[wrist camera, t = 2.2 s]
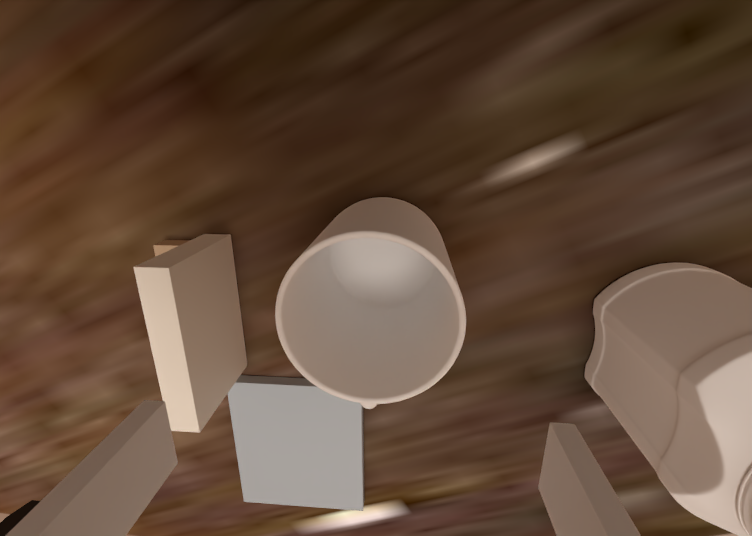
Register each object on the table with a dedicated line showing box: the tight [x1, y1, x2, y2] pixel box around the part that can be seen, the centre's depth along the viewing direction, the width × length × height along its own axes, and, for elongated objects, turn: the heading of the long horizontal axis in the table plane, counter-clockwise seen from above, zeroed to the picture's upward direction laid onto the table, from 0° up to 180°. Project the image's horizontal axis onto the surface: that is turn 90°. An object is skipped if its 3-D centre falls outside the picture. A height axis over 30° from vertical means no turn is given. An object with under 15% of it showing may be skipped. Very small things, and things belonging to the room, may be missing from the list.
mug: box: [275, 197, 466, 409], centre depth 22 cm, size 9×12×11 cm
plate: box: [228, 375, 364, 511], centre depth 33 cm, size 13×11×1 cm
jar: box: [584, 262, 752, 536], centre depth 20 cm, size 12×10×15 cm
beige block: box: [134, 234, 247, 432], centre depth 26 cm, size 11×5×8 cm, turn 0°
